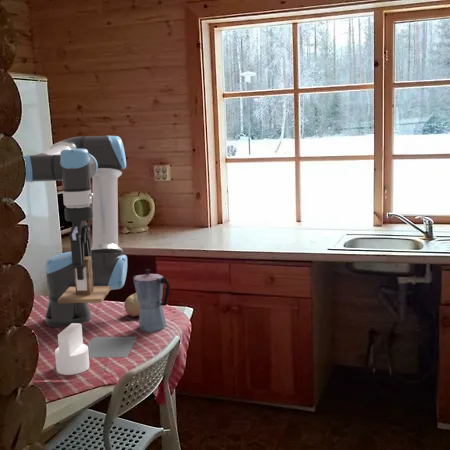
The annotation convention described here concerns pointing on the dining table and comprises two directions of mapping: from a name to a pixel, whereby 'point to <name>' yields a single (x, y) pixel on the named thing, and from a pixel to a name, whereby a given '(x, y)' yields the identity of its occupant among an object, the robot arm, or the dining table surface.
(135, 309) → the fruit
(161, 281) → the moka pot
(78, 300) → the walnut lid
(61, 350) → the cylinder with rectangular tab
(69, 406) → the dining table surface
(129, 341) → the rubber mat
